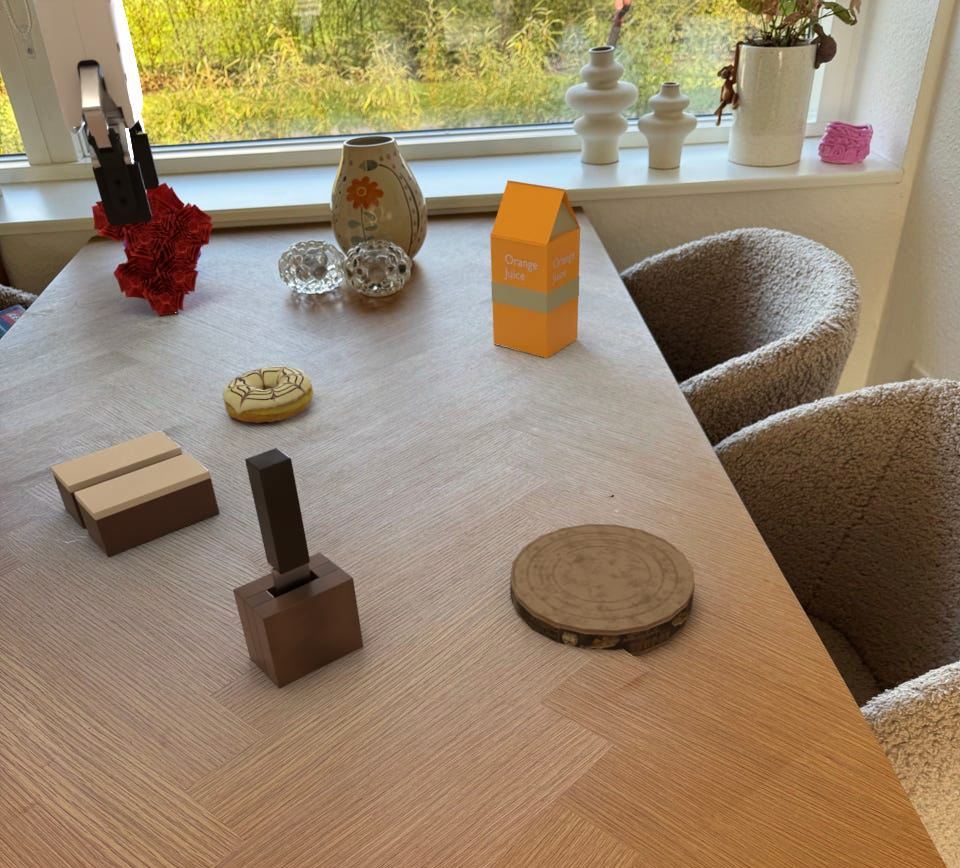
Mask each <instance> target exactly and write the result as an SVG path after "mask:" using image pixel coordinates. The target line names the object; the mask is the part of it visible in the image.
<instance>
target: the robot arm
mask: <svg viewBox="0 0 960 868" xmlns="http://www.w3.org/2000/svg"><path fill="white" fill-rule="evenodd" d="M33 1H34V6H35V10H36V11H35V12H36V15H37V19H38V25H39V28H40V33H41V36H42V40H43V44H44V48H45V51H46V56H47V59H48V63H49V67H50V71H51V75H52V78H53V83H54V87H55V91H56V95H57V98H58V99H57V100H58V103H59V106H60V111H61V113H62V119H63V121H64V125H65V128H66V129H67V130H68V131H69V132H71V133H72V134H73V135H79V134H80V133H81V132H82V129H83V128H85V132H86V139H87V144H88V149H89V156H90V160H91V161H90V162H91V164H92V167H91V168H92V172H93V175H94V179H95V182H96V187H97V189H98V193H99V196H100V201H102V204H103V207H104V211H105V215H106V218H107V221H108V223H109V224H110V225H114V226H115V225H124V224H133V223H142V222H149V221H150V220H151V217H152V213H151V209H150V205H149V201H148V198H147V194H146V193H147V191H146V190H148V189H156V188H158V186H159V185H160V180H159V175H158V172H157V168H156V163H155V159H154V155H153V150H152V147H151V143H150V139H149V135H148V133H145V127H144V122H143V118H142V115H141V113H142V110H143V106H144V101H143V93H142V87H141V82H140V76H139V71H138V66H137V62H136V57H135V52H134V48H133V44H132V38H131V34H130V29H129V26H128V25H129V24H128V20H127V17H126V13H125V8H124V5H123V0H33ZM84 126H85V127H84Z"/></svg>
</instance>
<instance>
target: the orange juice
mask: <svg viewBox="0 0 960 868" xmlns="http://www.w3.org/2000/svg"><path fill="white" fill-rule="evenodd" d="M506 181H507V182H506V185H505V187H504V191H503V195H502V198H501V201H500V204H499V208H498V210H497V213H496V217H495V220H494V223H493V227H492V229H491V233H490V235H489V237H490V267H491V268H490V269H491V281H490V283H491V285H490V286H491V301H492V302H491V304H492V305H491V306H492V333H493V336H492V337H493V344H494V343H495V344H499V345H503V346H507V347H509V348H513V349H516V350H519V351H518V352H520V351H523V352H527V353H531V354H533V355H532V356H535V355H537V356H536V357H539V356H541V357H540V358H543V357H544V358H543V359H548V358H550V357H552V356H553V355H555V354H556V353H558V352H559V351H561V350H563V349H564V348H566V347H568V346H569V345H571V344H572V343H575V342H576V341H577V340H578V331H579V330H578V323H579V296H580V252H581V251H580V250H581V248H580V247H581V227H580V224H579V221H578V219H577V216H576V214H575V212H574V208H573V207H572V204H571V202H570V199H569V197H568V195H567V192H566V189H565V188H560V187H554V186H546V185H541V184H535V183H528V182H521V181H514V180H509V179H507V180H506ZM576 339H577V340H576ZM575 340H576V341H575ZM570 343H571V344H570ZM568 344H569V345H568ZM567 345H568V346H567ZM565 346H566V347H565ZM562 348H563V349H562ZM560 349H561V350H560ZM516 350H515V351H516ZM557 351H558V352H557ZM523 352H522V353H523ZM527 353H526V354H527ZM554 353H555V354H554ZM531 354H530V355H531ZM549 356H550V357H549Z"/></svg>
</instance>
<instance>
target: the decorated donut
mask: <svg viewBox="0 0 960 868" xmlns="http://www.w3.org/2000/svg"><path fill="white" fill-rule="evenodd" d="M311 382H312V381H311V379H310V378H309V376H308V375H307V373H306V372H305V371H303V370H302V369H299V368H297V367H292V366H290V365H289V366H288V365H270V366H265V367H261V368H257V369H252V370H249V371H246V372H244V373H242V374H240V375H238V376H236V377H235V378H233V379H232V380H231V381H230V382H229V383H228V384H227V385H226V386H225V387H224V388H223V390H222V391H223V392H222V398H223V403H224V406H225V409H226V411H227V413H228V414H229V417H231V418H234V419H236V420H238V421H241V422H244V423H247V422H248V423H251V422H252V423H255V424H261V423H265V422H266V423H267V422H268V423H274V422H276V421H280V420H286V419H290V418H292V417H293V416H296V415H298V414H300V413H301V412H302V411H305V409H306V408H307V407H308V406H309V405H310V403H311V400H312V398H313V396H314V389H313V384H312V383H311Z"/></svg>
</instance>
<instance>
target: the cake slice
mask: <svg viewBox="0 0 960 868" xmlns="http://www.w3.org/2000/svg"><path fill="white" fill-rule="evenodd" d="M74 495H75V497H76V500H77V503H78V505H79V508H80V511H81V514H82V517H83V520H84V522H85V525H86V528H85V529H86V531H87V533H88V536H89V537H90V538H91V539H92V540H93V541H94V542H95V544H96V545H97V546H98V547H99V548H100V549H101V550H102V552H103V553H104V554H105V555H106V556H107V557H111V556H114V555H117V554H119V553H122V552H124V551H127V550H130V549H133V548H134V547H137V546H140V545H142V544H145V543H147V542H150V541H152V540H155V539H158V538H160V537H163V536H165V535H168V534H172V533H173V532H175V531H178V530H181V529H184V528H186V527H188V526H191V525H193V524H196V523H198V522H201V521H204V520H207V519H209V518H212V517H214V516H217V515H219V514H220V509H219V505H218V500H217V497H216V493H215V490H214V485H213V481H212V476H211V472H210V470H209V469H207V468H206V467H205V466H204V465H203V464H202V463H200V462H199V461H198V460H197V459H196V458H194V457H193V456H192V455H191V454H189V452H184V453H182V455H179V456H176V457H173V458H170V459H167V460H165V461H162V462H159V463H156V464H153V465H150V466H148V467H145V468H142V469H139V470H136V471H134V472H131V473H128V474H125V475H122V476H119V477H117V478H114V479H111V480H108V481H105V482H102V483H100V484H97V485H94V486H91V487H88V488H85V489H83V490H80V491H77V492H74Z"/></svg>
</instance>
